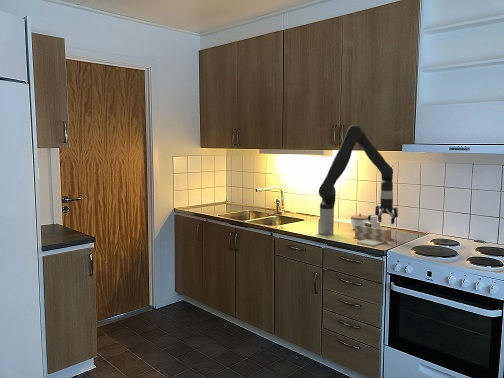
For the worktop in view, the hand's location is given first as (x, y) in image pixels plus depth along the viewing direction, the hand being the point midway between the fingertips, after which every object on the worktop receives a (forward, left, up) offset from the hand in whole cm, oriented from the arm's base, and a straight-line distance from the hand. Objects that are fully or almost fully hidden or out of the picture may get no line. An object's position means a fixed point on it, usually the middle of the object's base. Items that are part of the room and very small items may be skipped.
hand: (386, 223), depth 270 cm
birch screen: (-5, -10, -10) cm, 15 cm away
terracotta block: (0, 0, -10) cm, 10 cm away
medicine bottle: (-15, +10, -10) cm, 21 cm away
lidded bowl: (-27, +14, -10) cm, 32 cm away
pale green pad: (0, -19, -10) cm, 21 cm away
